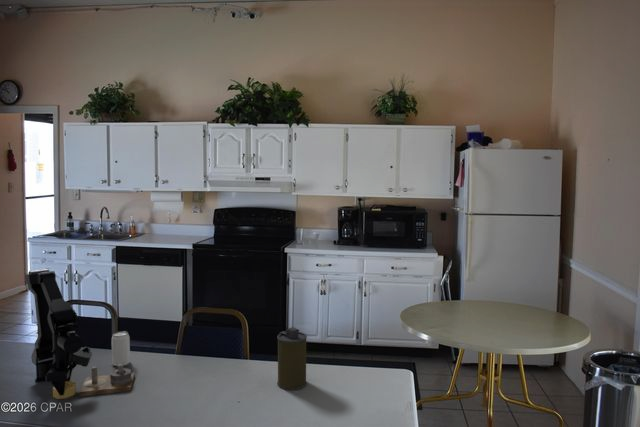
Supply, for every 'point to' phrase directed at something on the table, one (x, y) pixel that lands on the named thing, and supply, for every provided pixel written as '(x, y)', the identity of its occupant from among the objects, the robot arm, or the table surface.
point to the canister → (291, 359)
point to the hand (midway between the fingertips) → (64, 390)
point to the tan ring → (66, 390)
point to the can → (120, 348)
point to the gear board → (108, 382)
